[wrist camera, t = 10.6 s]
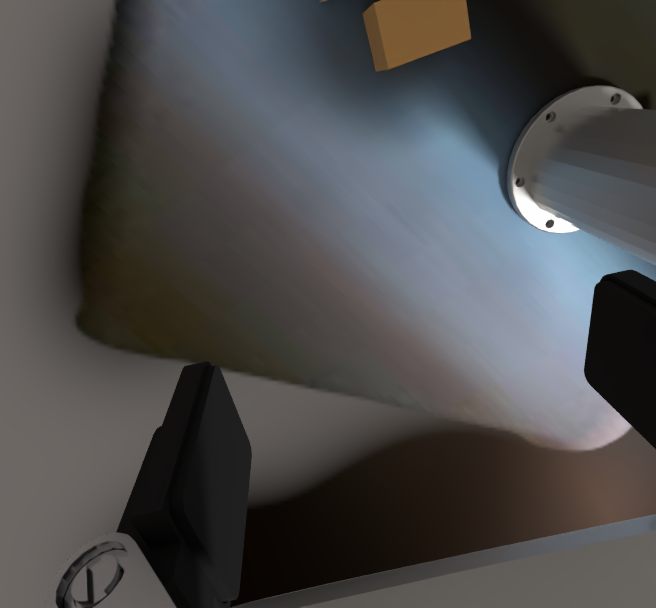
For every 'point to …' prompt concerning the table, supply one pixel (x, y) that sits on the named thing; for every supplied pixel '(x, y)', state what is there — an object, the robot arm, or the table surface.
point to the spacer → (413, 29)
